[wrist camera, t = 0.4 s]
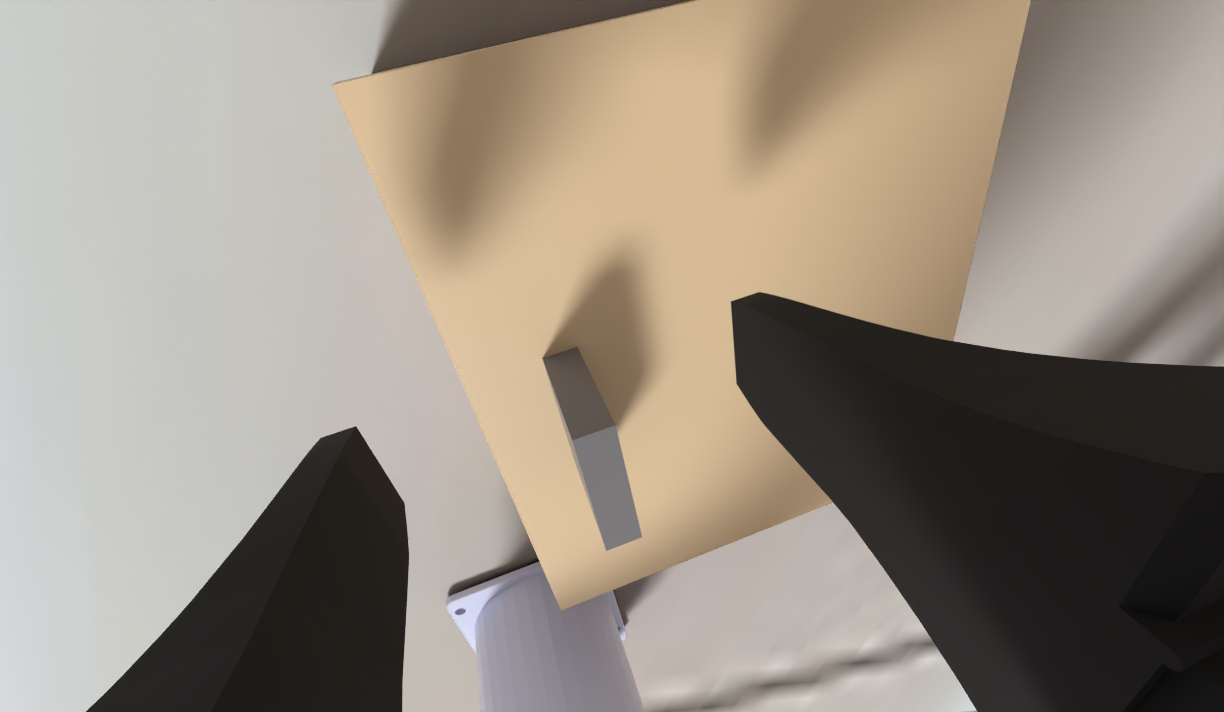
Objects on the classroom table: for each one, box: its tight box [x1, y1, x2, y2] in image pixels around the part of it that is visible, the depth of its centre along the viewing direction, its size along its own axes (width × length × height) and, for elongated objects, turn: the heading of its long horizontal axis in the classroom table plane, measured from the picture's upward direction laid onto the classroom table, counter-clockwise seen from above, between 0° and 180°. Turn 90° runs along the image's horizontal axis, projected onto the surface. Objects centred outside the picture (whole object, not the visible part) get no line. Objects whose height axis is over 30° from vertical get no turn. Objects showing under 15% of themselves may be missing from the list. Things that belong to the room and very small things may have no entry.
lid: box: [332, 0, 1031, 611], centre depth 15 cm, size 18×16×4 cm
